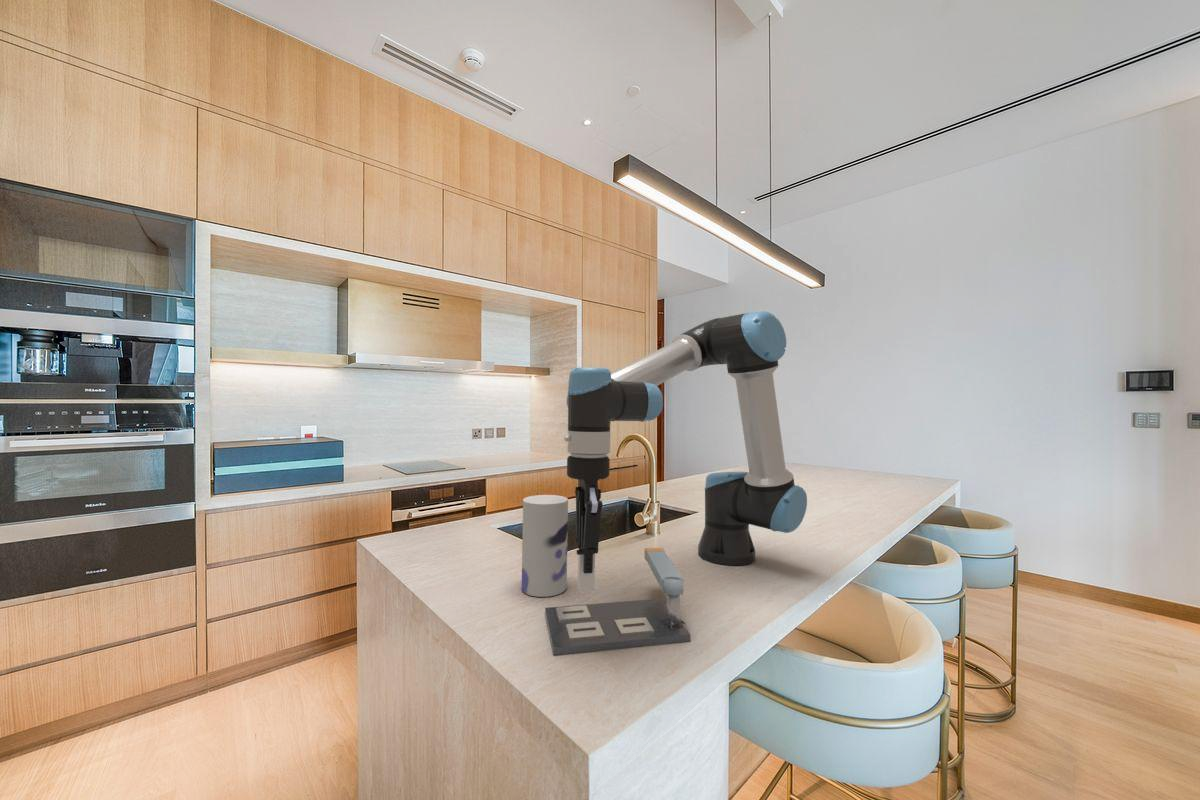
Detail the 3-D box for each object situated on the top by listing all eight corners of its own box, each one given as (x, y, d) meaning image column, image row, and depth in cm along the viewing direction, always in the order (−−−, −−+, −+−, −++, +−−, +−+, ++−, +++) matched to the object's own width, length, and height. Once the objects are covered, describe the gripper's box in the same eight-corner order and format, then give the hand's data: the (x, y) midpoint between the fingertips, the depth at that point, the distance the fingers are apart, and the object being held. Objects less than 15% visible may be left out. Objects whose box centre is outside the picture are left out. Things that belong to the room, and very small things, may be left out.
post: (679, 622, 86) (680, 588, 86) (688, 634, 82) (689, 597, 82) (657, 625, 85) (658, 589, 85) (665, 636, 81) (666, 599, 81)
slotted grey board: (661, 604, 94) (661, 596, 94) (690, 641, 80) (690, 632, 80) (544, 613, 89) (545, 605, 89) (553, 655, 75) (553, 645, 75)
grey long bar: (687, 595, 82) (687, 583, 82) (664, 596, 82) (664, 583, 82) (662, 557, 103) (662, 547, 103) (644, 557, 102) (644, 547, 102)
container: (559, 599, 96) (560, 504, 96) (514, 595, 98) (516, 501, 98) (571, 581, 106) (573, 495, 106) (530, 577, 108) (532, 493, 108)
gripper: (562, 451, 86) (560, 576, 86) (573, 459, 73) (570, 606, 73) (601, 451, 88) (599, 574, 87) (618, 459, 75) (615, 603, 75)
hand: (586, 588), depth 80 cm, fingers closed
